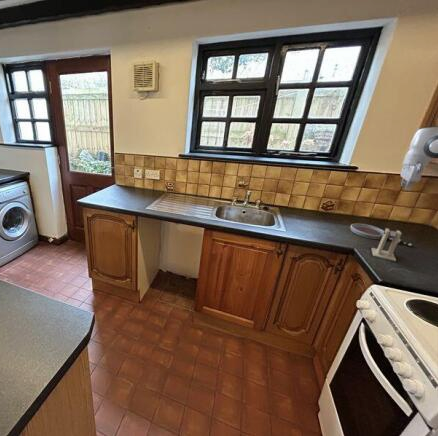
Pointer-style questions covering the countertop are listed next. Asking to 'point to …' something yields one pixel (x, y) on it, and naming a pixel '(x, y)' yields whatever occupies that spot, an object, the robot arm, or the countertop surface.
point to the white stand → (389, 253)
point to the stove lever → (390, 235)
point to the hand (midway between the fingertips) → (404, 188)
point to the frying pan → (370, 232)
